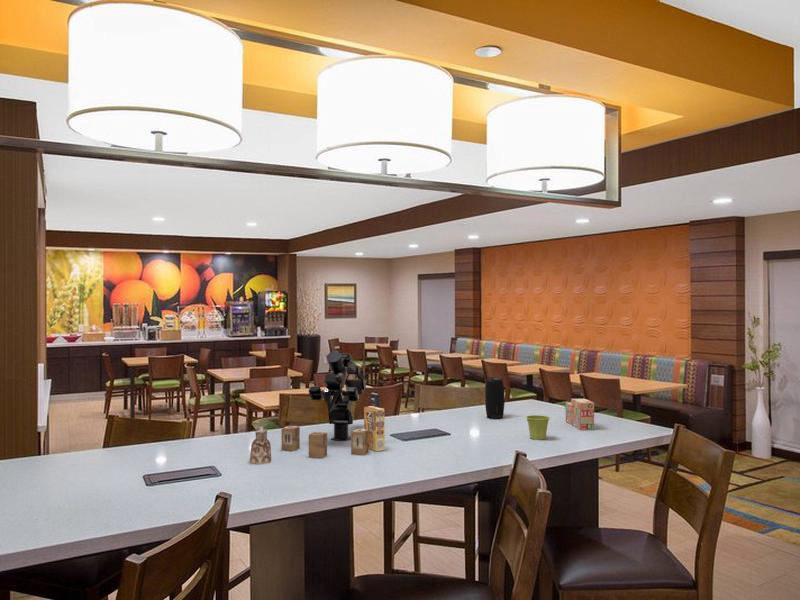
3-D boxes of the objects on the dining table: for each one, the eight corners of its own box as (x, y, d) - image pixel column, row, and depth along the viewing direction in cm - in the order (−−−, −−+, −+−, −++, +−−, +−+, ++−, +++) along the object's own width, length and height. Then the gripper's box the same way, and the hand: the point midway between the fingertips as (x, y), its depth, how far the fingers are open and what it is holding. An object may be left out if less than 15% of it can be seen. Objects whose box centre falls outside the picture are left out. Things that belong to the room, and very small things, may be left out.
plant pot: (548, 441, 235) (548, 419, 235) (524, 440, 238) (524, 418, 238) (550, 437, 244) (550, 415, 244) (527, 435, 247) (527, 414, 247)
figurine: (249, 464, 198) (250, 428, 198) (249, 459, 205) (249, 424, 205) (271, 463, 200) (272, 427, 200) (270, 458, 207) (270, 423, 207)
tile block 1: (287, 447, 224) (287, 425, 224) (299, 448, 223) (299, 425, 223) (281, 450, 219) (281, 427, 219) (293, 451, 218) (293, 428, 218)
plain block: (314, 454, 213) (314, 431, 213) (327, 455, 212) (327, 432, 212) (308, 457, 208) (308, 434, 208) (321, 458, 207) (322, 435, 207)
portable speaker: (487, 416, 295) (486, 376, 295) (506, 417, 292) (505, 377, 292) (483, 418, 287) (483, 378, 287) (503, 420, 284) (503, 378, 284)
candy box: (385, 450, 219) (385, 408, 220) (375, 451, 217) (375, 409, 217) (373, 446, 227) (373, 405, 227) (363, 447, 224) (363, 406, 225)
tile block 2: (355, 451, 218) (355, 428, 218) (368, 452, 217) (368, 429, 217) (350, 454, 213) (350, 431, 213) (364, 455, 211) (364, 431, 212)
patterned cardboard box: (565, 422, 279) (565, 395, 279) (578, 422, 279) (578, 395, 280) (580, 430, 258) (580, 402, 258) (594, 430, 258) (594, 402, 258)
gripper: (310, 365, 231) (300, 397, 220) (356, 366, 228) (349, 398, 217) (316, 383, 239) (307, 415, 227) (361, 384, 235) (354, 417, 224)
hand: (329, 411), depth 224 cm, fingers closed
